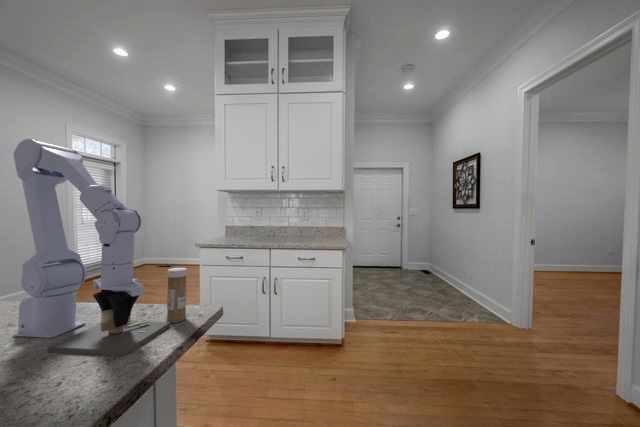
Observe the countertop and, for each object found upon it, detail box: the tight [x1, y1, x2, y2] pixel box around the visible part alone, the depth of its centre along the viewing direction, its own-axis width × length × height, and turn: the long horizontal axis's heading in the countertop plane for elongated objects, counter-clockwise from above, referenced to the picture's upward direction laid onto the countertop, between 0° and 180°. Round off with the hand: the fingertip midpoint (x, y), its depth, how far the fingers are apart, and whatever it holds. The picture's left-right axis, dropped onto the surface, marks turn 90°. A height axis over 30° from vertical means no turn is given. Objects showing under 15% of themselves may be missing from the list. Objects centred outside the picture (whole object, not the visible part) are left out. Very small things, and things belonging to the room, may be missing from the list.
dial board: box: [47, 320, 171, 357], centre depth 59 cm, size 16×14×1 cm
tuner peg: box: [100, 309, 150, 334], centre depth 60 cm, size 9×3×5 cm, turn 140°
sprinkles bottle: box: [166, 267, 188, 324], centre depth 69 cm, size 5×5×13 cm
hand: (116, 324), depth 59 cm, fingers open, 3 cm apart
